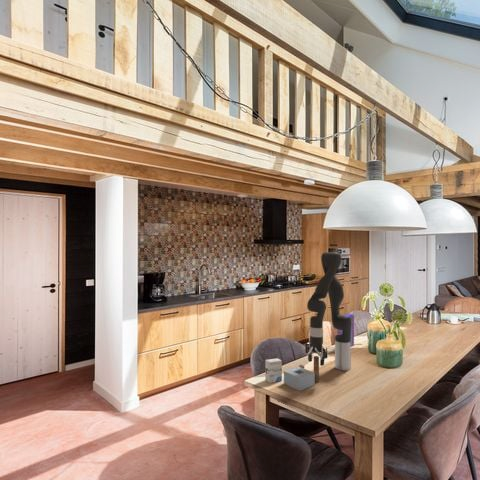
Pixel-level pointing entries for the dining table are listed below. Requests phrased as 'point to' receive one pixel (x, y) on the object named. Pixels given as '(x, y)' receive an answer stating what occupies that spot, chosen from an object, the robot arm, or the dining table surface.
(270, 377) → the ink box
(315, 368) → the long pin
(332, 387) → the dining table surface
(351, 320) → the cereal box
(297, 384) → the hole block
